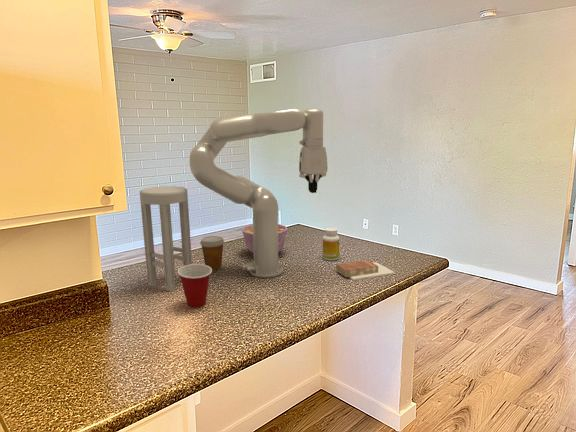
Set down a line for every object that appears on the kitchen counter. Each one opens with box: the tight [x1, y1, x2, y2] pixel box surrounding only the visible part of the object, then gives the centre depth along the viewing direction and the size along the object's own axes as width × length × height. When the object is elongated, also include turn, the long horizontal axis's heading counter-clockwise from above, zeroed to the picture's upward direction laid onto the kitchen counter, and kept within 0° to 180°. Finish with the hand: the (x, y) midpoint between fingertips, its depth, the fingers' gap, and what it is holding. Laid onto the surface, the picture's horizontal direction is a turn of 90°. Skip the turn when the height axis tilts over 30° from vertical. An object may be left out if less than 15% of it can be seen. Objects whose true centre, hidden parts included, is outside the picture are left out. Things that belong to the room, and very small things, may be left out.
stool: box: [139, 185, 193, 292], centre depth 152 cm, size 16×16×35 cm
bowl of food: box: [241, 223, 288, 254], centre depth 188 cm, size 20×20×12 cm
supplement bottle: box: [321, 227, 340, 261], centre depth 181 cm, size 7×7×13 cm
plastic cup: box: [177, 263, 213, 308], centre depth 137 cm, size 11×11×12 cm
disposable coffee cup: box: [199, 235, 225, 271], centre depth 171 cm, size 10×10×12 cm
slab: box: [335, 259, 378, 278], centre depth 164 cm, size 2×8×14 cm
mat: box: [348, 261, 396, 281], centre depth 165 cm, size 18×13×1 cm
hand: (312, 192), depth 161 cm, fingers closed
